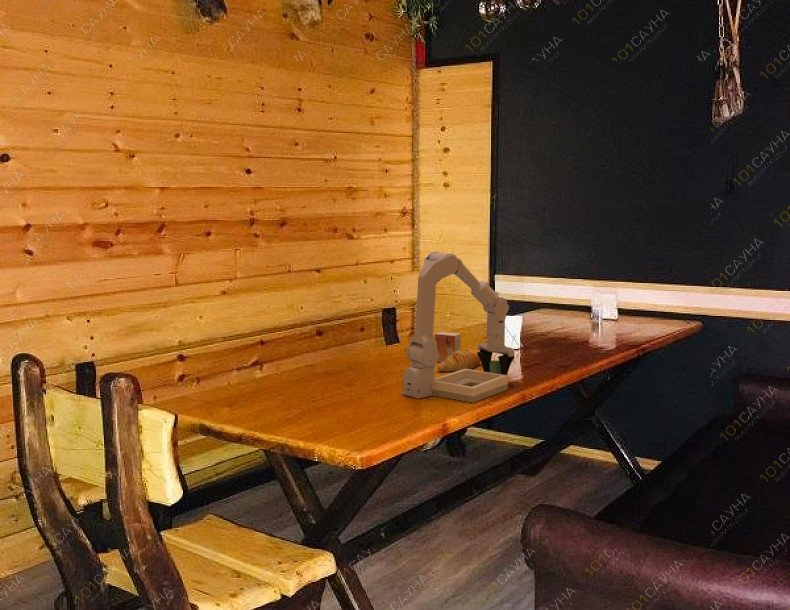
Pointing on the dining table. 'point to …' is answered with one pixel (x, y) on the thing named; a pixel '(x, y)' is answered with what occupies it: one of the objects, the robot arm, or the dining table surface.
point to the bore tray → (469, 385)
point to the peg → (495, 367)
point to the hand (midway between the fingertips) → (495, 374)
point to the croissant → (459, 361)
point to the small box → (447, 344)
